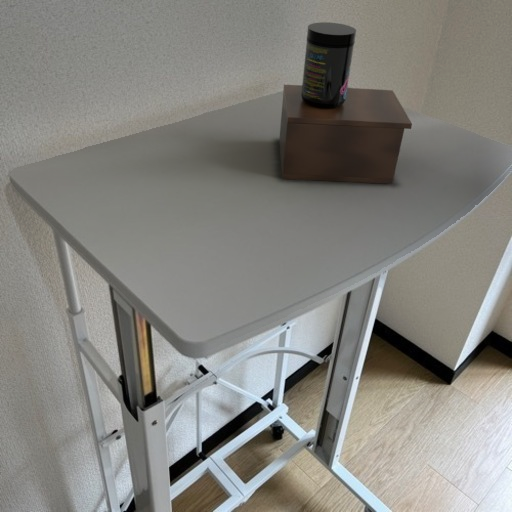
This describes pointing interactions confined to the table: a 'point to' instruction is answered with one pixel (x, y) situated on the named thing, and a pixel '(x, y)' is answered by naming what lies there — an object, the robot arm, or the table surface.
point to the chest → (338, 152)
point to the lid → (349, 109)
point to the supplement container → (327, 64)
